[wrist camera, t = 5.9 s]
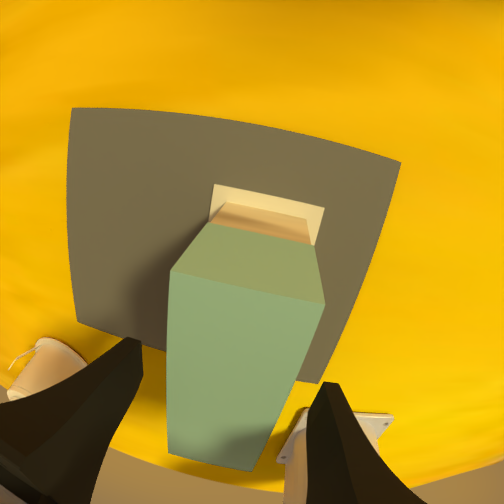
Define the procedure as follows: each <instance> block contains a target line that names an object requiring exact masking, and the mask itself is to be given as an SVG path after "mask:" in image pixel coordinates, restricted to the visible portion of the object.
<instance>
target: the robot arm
mask: <svg viewBox="0 0 504 504" xmlns="http://www.w3.org/2000/svg"><path fill="white" fill-rule="evenodd" d="M142 377H143V362H142V345H141V341H140V340H137V339H134V338H131V337H126V338H124V339H123V340H122V341H120V342H119V343H118V344H116V345H115V346H114V347H112V348H111V349H110V350H108V351H107V352H106V353H104V354H103V355H102V356H100V357H99V358H97V359H96V360H95V361H93V362H92V363H90V364H89V365H87V366H86V367H84V368H83V369H81V370H80V371H78V372H76V373H75V374H73V375H72V376H70V377H68V378H66V379H65V380H63V381H61V382H59V383H57V384H55V385H53V386H51V387H49V388H47V389H44V390H42V391H40V392H37V393H35V394H32V395H30V396H27V397H23V398H20V399H17V400H13V401H10V402H6V403H1V404H0V504H90V501H91V497H92V493H93V490H94V487H95V483H96V480H97V477H98V474H99V471H100V467H101V465H102V462H103V459H104V457H105V454H106V451H107V449H108V446H109V444H110V441H111V439H112V437H113V435H114V433H115V431H116V430H117V428H118V426H119V424H120V422H121V421H122V419H123V417H124V415H125V413H126V412H127V410H128V408H129V406H130V404H131V402H132V401H133V399H134V397H135V395H136V392H137V390H138V388H139V385H140V382H141V380H142ZM393 420H394V417H393V415H391V414H373V413H356V412H353V411H352V409H351V407H350V405H349V404H348V401H347V399H346V397H345V395H344V393H343V391H342V389H341V387H340V385H339V384H338V383H331V382H323V384H322V386H321V388H320V390H319V392H318V393H317V395H316V397H315V399H314V401H313V403H312V405H311V407H310V408H307V409H305V410H304V411H303V412H302V414H301V416H300V418H299V420H298V421H297V423H296V425H295V427H294V429H293V430H292V432H291V434H290V436H289V437H288V439H287V441H286V443H285V444H284V446H283V448H282V449H281V451H280V453H279V454H278V456H277V458H276V462H277V463H281V464H286V467H285V483H284V498H283V504H427V503H425V502H424V501H423V500H421V499H420V498H419V497H418V496H416V495H415V494H414V493H413V492H412V491H411V490H409V488H407V487H406V486H405V485H404V484H403V483H402V482H401V481H400V479H399V478H398V477H397V476H396V475H395V474H394V473H393V472H392V471H391V470H390V469H389V467H388V466H387V465H386V464H385V462H384V461H383V460H382V459H381V457H380V455H379V449H378V443H377V439H378V438H379V437H380V436H381V434H382V433H383V432H384V431H385V430H386V429H387V427H388V426H389V425H390V424H391V423H392V421H393Z"/></svg>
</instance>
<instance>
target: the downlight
mask: <svg viewBox="0 0 504 504" xmlns="http://www.w3.org/2000/svg"><path fill="white" fill-rule="evenodd" d="M33 350H35V351H36V354H35V355H34V356H33V358H32V359H31V360H30V361H29V363H28V364H27V365H26V367H25V368H24V369H23V371H22V372H21V373H20V375H19V376H18V377H17V379H16V380H15V381H14V383H13V384H12V385H11V387H10V388H9V389H8V391H7V395H8V398H9V399H10V401H13V400H17V399H20V398H23V397H27V396H30V395H32V394H35V393H37V392H40V391H42V390H44V389H47V388H49V387H51V386H53V385H55V384H57V383H59V382H61V381H63V380H65V379H66V378H68V377H70V376H72V375H73V374H75V373H76V372H78V371H80V370H81V369H83V368H84V367H86V366H87V365H88V364H87V363H86V362H85V361H84V360H83V359H82V358H81V357H80V356H79V355H78V354H77V353H76V352H75V351H74V350H72V349H71V348H70V347H68V346H67V345H65V344H63V343H62V342H60V341H58V340H55V339H52V338H48V337H43V338H40V339H39V340H38V341H37V342H36V344H35V347H34V348H33V349H31V350H29V351H27V352H25V353H23V354H22V355H20V356H18V357H17V358H16V359H15V360H17V359H19V358H21V357H22V356H24V355H26V354H28V353H30V352H31V351H33ZM15 360H14V362H15ZM14 362H13V363H14ZM13 363H12V364H13ZM11 366H12V365H11ZM11 366H10V367H11ZM10 367H9V369H10ZM9 369H8V370H9Z"/></svg>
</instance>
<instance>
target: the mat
mask: <svg viewBox="0 0 504 504" xmlns="http://www.w3.org/2000/svg"><path fill="white" fill-rule="evenodd" d="M400 165H401V162H398V161H396V160H393V159H390V158H386V157H383V156H380V155H377V154H374V153H371V152H367V151H364V150H361V149H357V148H354V147H350V146H347V145H343V144H340V143H336V142H332V141H328V140H325V139H321V138H317V137H313V136H308V135H304V134H300V133H295V132H291V131H286V130H282V129H277V128H272V127H267V126H262V125H257V124H251V123H245V122H240V121H234V120H227V119H221V118H214V117H207V116H199V115H191V114H182V113H173V112H162V111H150V110H135V109H115V108H72V112H71V121H70V131H69V143H68V159H67V232H68V248H69V261H70V271H71V280H72V288H73V296H74V303H75V309H76V316H77V322H79V323H82V324H85V325H87V326H90V327H93V328H95V329H98V330H101V331H104V332H107V333H109V334H112V335H115V336H118V337H121V338H126V337H131V338H134V339H137V340H140V341H141V344H143V345H146V346H149V347H152V348H156V349H159V350H162V351H166V352H167V320H168V298H169V281H170V270H171V269H172V267H173V266H174V265H175V264H176V262H177V261H178V260H179V258H180V257H181V256H182V254H183V253H184V252H185V250H186V249H187V248H188V247H189V245H190V244H191V243H192V241H193V240H194V239H195V238H196V236H197V235H198V234H199V232H200V231H201V230H202V229H203V227H204V226H205V225H206V224H207V222H209V223H210V222H211V221H212V220H213V218H214V217H215V216H216V215H217V213H218V212H219V211H220V209H221V208H222V207H223V206H224V204H225V203H226V202H230V203H235V204H240V205H245V206H250V207H254V208H259V209H264V210H268V211H273V212H277V213H282V214H286V215H291V216H295V217H300V218H304V219H306V221H307V226H308V231H309V236H310V241H311V245H314V248H315V253H316V258H317V263H318V268H319V273H320V278H321V283H322V289H323V294H324V300H325V307H324V310H323V313H322V315H321V318H320V321H319V323H318V326H317V328H316V331H315V334H314V336H313V339H312V341H311V344H310V346H309V349H308V351H307V354H306V356H305V359H304V361H303V363H302V366H301V368H300V371H299V373H298V375H297V378H296V380H295V381H302V382H308V383H315V384H318V383H319V381H320V379H321V377H322V375H323V373H324V371H325V369H326V367H327V365H328V363H329V360H330V358H331V356H332V354H333V352H334V350H335V348H336V345H337V343H338V341H339V339H340V336H341V334H342V332H343V330H344V327H345V325H346V323H347V320H348V318H349V316H350V313H351V311H352V308H353V306H354V304H355V301H356V299H357V296H358V294H359V291H360V288H361V286H362V283H363V281H364V278H365V275H366V273H367V270H368V267H369V265H370V262H371V259H372V256H373V253H374V251H375V248H376V245H377V242H378V239H379V236H380V233H381V230H382V227H383V224H384V221H385V218H386V214H387V211H388V208H389V205H390V201H391V198H392V194H393V191H394V187H395V184H396V180H397V177H398V173H399V169H400Z"/></svg>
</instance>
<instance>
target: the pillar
mask: <svg viewBox="0 0 504 504" xmlns="http://www.w3.org/2000/svg"><path fill="white" fill-rule="evenodd" d="M210 223H213V224H218V225H223V226H228V227H232V228H237V229H242V230H246V231H251V232H256V233H260V234H265V235H269V236H274V237H278V238H283V239H287V240H292V241H296V242H301V243H305V244H310V245H311V241H310V236H309V231H308V226H307V221H306V219H304V218H300V217H295V216H291V215H286V214H282V213H277V212H273V211H268V210H264V209H259V208H254V207H250V206H245V205H240V204H235V203H230V202H226V203H225V204H224V206H223V207H222V208H221V209H220V211H219V212H218V213H217V215H216V216H215V217H214V218H213V220H212V221H211V222H210Z"/></svg>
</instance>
